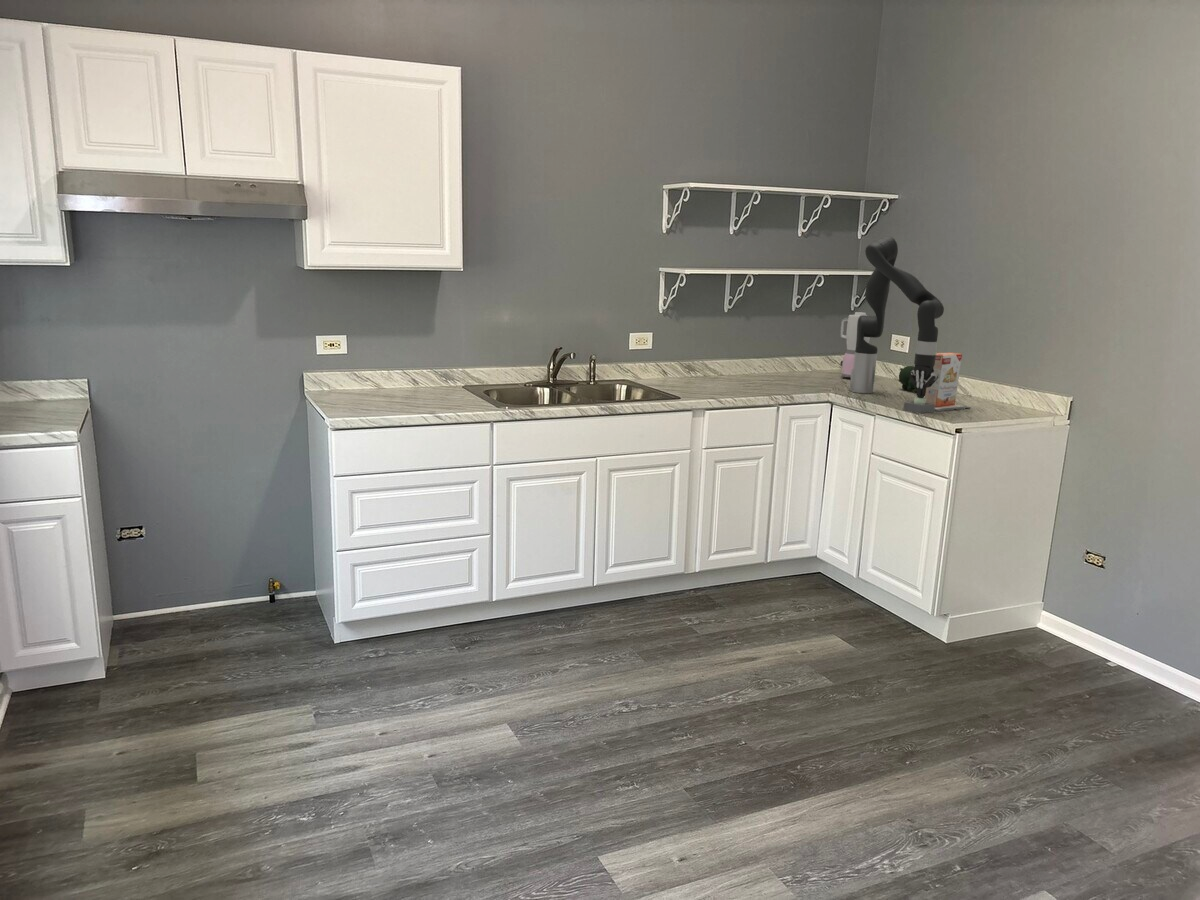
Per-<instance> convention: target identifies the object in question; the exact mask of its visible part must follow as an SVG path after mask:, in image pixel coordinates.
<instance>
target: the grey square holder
mask: <svg viewBox="0 0 1200 900" xmlns="http://www.w3.org/2000/svg"><path fill="white" fill-rule="evenodd" d="M934 409H935V404H931V403H925V404H923V405H920V404H915V403H914V400H912V401H905V402H904V405H903V410H904V411H907V410H908V411H907V412H912V411H913V413H917V412H918V414H925V413H935V411H934Z"/></svg>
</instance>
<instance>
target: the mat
mask: <svg viewBox="0 0 1200 900" xmlns="http://www.w3.org/2000/svg"><path fill="white" fill-rule="evenodd" d="M964 408H971V407H970V406H967V405H961V404H956V403H955V405H949V406H941V407H935V409H934V412H937V411H939V412H945V411H944V410H951V411H955V410H954V409H962V410H965V409H964Z"/></svg>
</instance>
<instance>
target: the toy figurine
mask: <svg viewBox="0 0 1200 900" xmlns="http://www.w3.org/2000/svg"><path fill="white" fill-rule="evenodd" d="M914 367H915V365H907V366H904V367H902V368H901V367H900V368H899V370H900V371H899V373H898V382H899V383H900V384H901V387H902V390H904V389H905V391H909V392H913V393H914V394H915V393H917V386H914V385H913V383H912V381H911V379H910V377H909V375H908V372H911V371H913V370H914ZM925 393H926V391H925Z"/></svg>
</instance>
